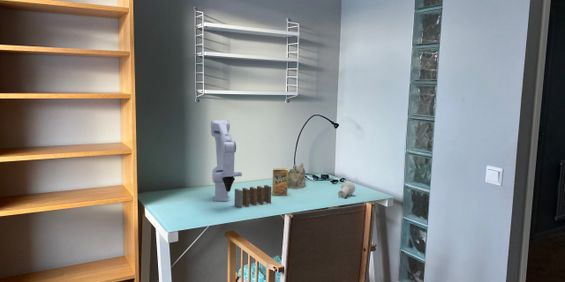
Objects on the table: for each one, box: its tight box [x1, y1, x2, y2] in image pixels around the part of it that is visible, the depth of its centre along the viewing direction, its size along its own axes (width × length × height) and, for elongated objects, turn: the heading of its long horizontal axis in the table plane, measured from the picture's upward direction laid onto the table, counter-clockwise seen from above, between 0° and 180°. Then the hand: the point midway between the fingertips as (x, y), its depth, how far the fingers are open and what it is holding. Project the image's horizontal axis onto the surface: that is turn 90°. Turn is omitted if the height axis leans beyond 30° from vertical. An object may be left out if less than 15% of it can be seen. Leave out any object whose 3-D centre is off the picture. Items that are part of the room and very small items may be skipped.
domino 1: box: [233, 188, 243, 209], centre depth 220 cm, size 2×5×9 cm, turn 36°
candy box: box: [271, 167, 289, 196], centre depth 246 cm, size 9×4×15 cm, turn 92°
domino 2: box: [241, 187, 250, 208], centre depth 223 cm, size 2×5×9 cm, turn 34°
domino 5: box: [263, 184, 272, 204], centre depth 230 cm, size 2×5×9 cm, turn 34°
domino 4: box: [256, 185, 265, 205], centre depth 228 cm, size 2×5×9 cm, turn 34°
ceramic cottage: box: [287, 163, 307, 190], centre depth 269 cm, size 16×16×15 cm
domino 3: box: [249, 186, 258, 207], centre depth 225 cm, size 2×5×9 cm, turn 34°
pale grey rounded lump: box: [337, 180, 356, 199], centre depth 249 cm, size 8×11×8 cm
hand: (228, 191), depth 216 cm, fingers closed
